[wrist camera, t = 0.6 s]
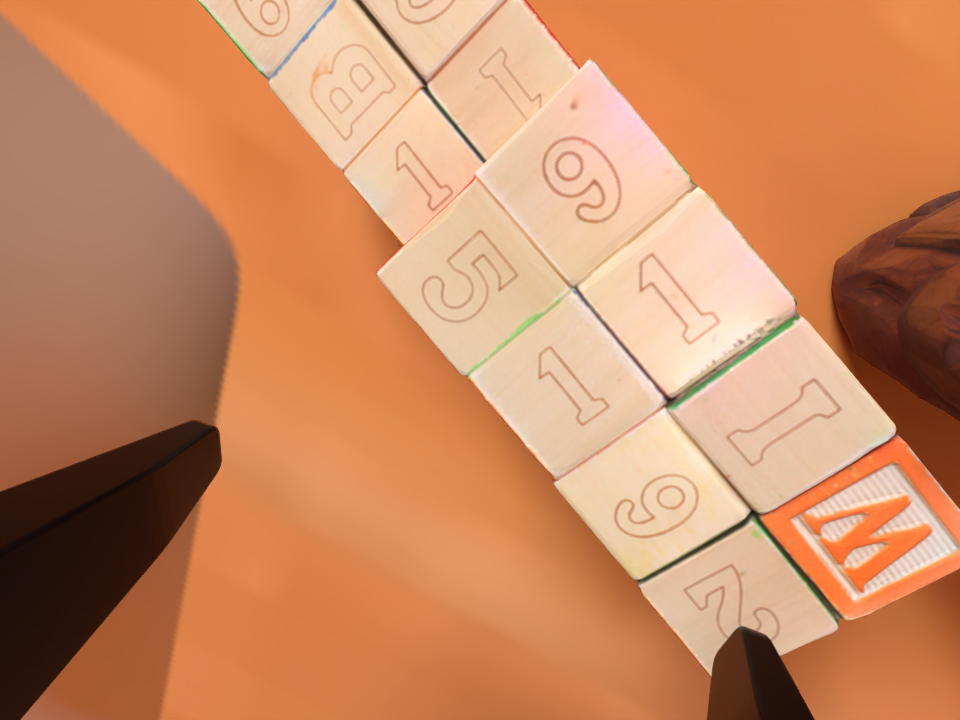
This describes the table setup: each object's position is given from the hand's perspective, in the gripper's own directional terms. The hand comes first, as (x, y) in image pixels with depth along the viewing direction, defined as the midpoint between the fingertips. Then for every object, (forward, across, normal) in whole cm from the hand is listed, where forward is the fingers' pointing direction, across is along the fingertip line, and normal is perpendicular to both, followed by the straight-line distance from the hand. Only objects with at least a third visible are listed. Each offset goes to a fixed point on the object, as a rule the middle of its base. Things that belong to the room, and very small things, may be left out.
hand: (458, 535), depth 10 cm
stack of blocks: (+17, +1, 0) cm, 17 cm away
